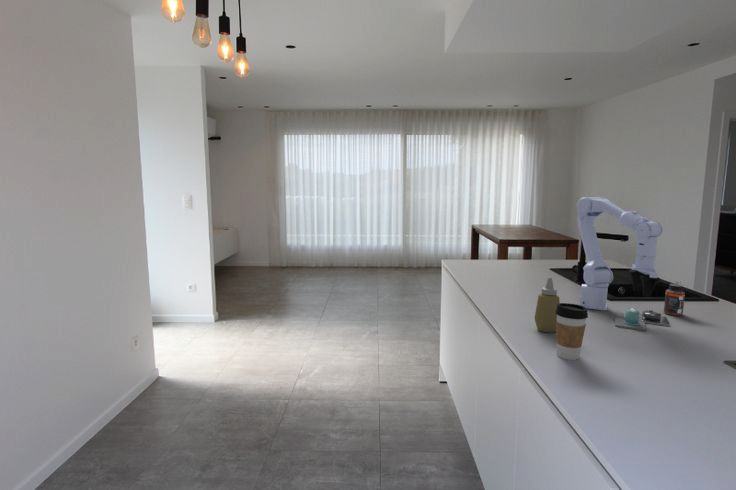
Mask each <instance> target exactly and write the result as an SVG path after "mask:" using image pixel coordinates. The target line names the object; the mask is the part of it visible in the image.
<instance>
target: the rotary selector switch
mask: <svg viewBox="0 0 736 490" xmlns="http://www.w3.org/2000/svg"><path fill="white" fill-rule="evenodd" d="M639 321H643V322H644V323H645V324H650V325H657V326H664V327H670V323H669V321H668V317H667V316H663V315H662V314H661V312H656V311H654V310H653V309H648V310H644V311H642V312H639Z"/></svg>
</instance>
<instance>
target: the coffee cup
mask: <svg viewBox="0 0 736 490" xmlns="http://www.w3.org/2000/svg"><path fill="white" fill-rule="evenodd" d="M555 313H556V314H557V319H556V331H555V334H556V355H557V356H558V357H559V358H561V359H565V360H570V361H576V359H577V360H579V358H580V356H581V350H582V345H583V340H584V337H585V330H586V326H587V323H586V322H587V321H586V320H587V319H588V318H589V314H588V308H586V307H584V306H581V305H580V304H575V303H568V302H567V303H566V302H565V303H564V302H560V303H558V304H557V308H556V312H555Z"/></svg>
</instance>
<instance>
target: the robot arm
mask: <svg viewBox="0 0 736 490" xmlns="http://www.w3.org/2000/svg"><path fill="white" fill-rule="evenodd" d="M575 208H576V213H577V225H578V230H579V233H580V237H581V241H582V246H583V250H584V254H585V258H586V262H587V263H585V265H584V266H583V267H582V269H583V275H582V276H583V281H584V282H585V283H582V284H581V288H580V296H579V302H580V303H579V305H581V306H584V307H586V308H587V309H589V310H592V309H593V310H597V311H598V310H599V311H605V312H607V311H608V304H607V299H608V288H609V286H610V284H611V283H612V282H613V280H614V272H613V271H612V270H611V268H610V266H609V264H608V263H607V262H606V261H605V260H604V259H603V256H602V252H601V247H600V245H599V244H600V243H599V240H598V236H597V231H596V228H595V221H596V219H598V217H599V216H600V215H602V214H603V213H606V214H608V215H610V216H612V217H613V218H616V219H618V220H619V223H620V225H622V226H624V227H625V228H627V229H628V230H631V231H632V232H634V235H635V237H636V242H637V243H636V255H635V263H632V266H631V267H630V268H631V270H628V274H629V276H630V279H631V283H632V290H633V291H638V292H640V291H642V296H643V297H651V296H652V293H653V291H654V289H655V287H656V285H657V284H658V283H659V281H661V278H660V277H658V272H657V271H656V269H655V265H656V264H655V262H656V254H657V246H658V237H660V236H661V234H662V233H663V227H662V225H661V223H660V222H659V221H656V220H649V218H648V217H644V216H641V215H639V214H638V212H637V211H636V210H629V211H625V210H624V209H622V208H620V207H619V206H617V205H616V204H614V203H613V202H611V200H609V199H608V198H605V197H603V196H591V197H590V196H589V197H587V196H582V197H581V198H579V199H578V201H577V203H576V204H575Z"/></svg>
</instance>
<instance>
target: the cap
mask: <svg viewBox="0 0 736 490" xmlns="http://www.w3.org/2000/svg"><path fill="white" fill-rule="evenodd" d="M639 313H640V311H639V310H638V309H637V310H636V309H634V308H632V307H630V308H628V309H626V310H625V315H624V316H625V317H624V319H625V320H624V323H625V324H627V325H632V326H638V325H640V323H639Z"/></svg>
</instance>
